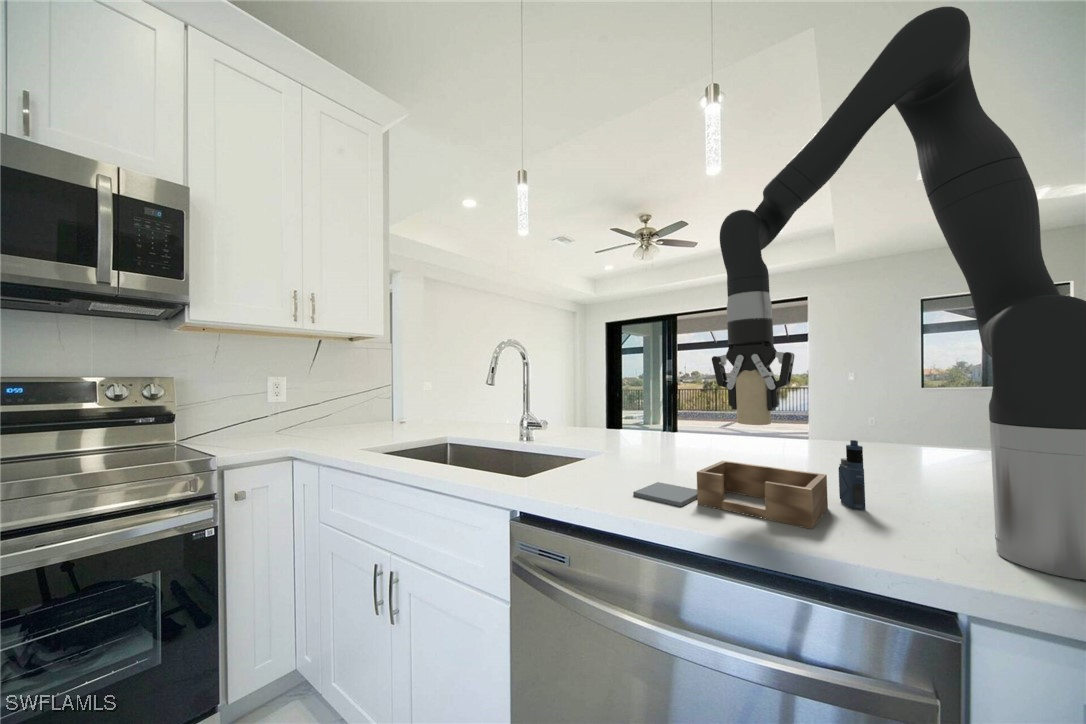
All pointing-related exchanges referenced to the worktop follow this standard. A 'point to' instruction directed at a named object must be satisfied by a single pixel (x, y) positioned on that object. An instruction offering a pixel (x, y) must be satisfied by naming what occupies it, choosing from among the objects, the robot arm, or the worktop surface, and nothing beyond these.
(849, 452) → the vaping device
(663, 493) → the mat
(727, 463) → the box
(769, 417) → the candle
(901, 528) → the worktop surface
